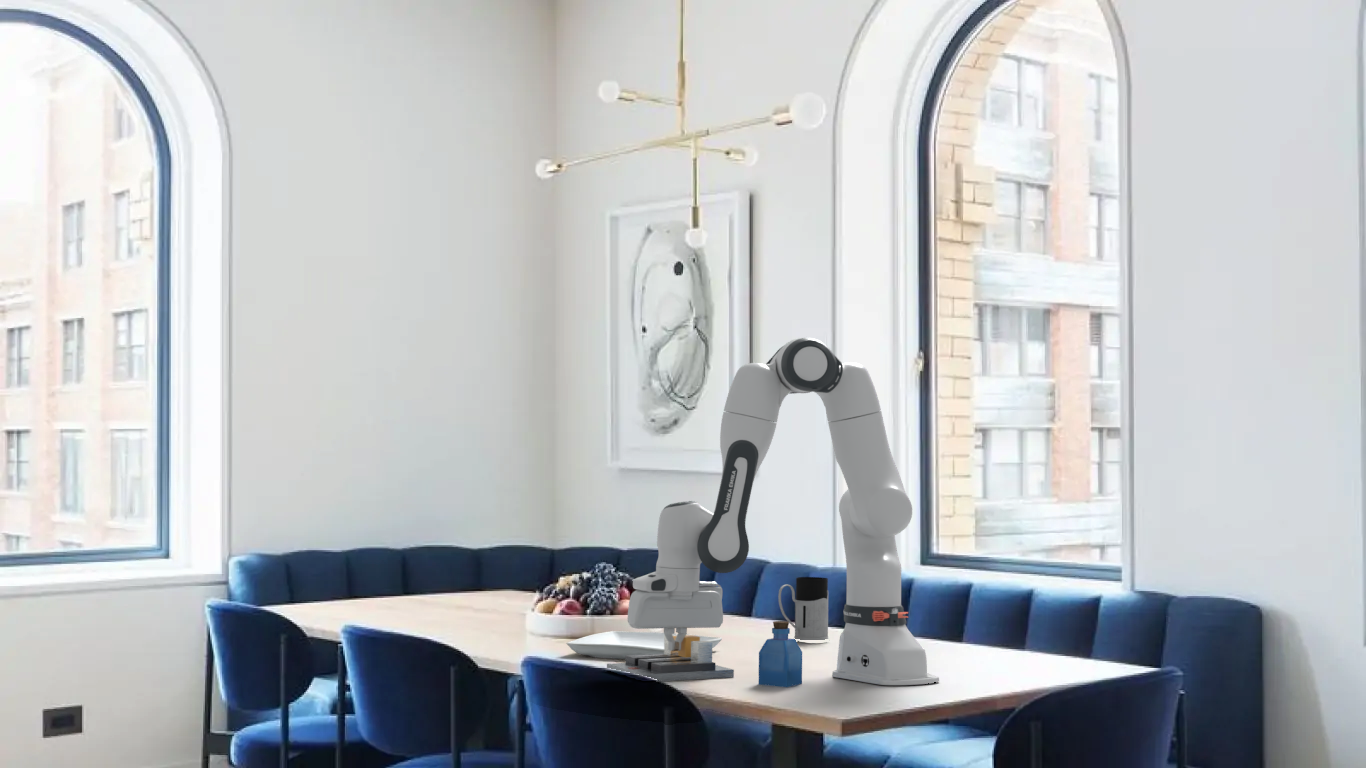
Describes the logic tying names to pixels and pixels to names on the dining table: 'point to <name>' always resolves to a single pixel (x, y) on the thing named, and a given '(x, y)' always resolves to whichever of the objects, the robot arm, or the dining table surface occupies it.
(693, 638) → the handle
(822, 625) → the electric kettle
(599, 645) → the square plate
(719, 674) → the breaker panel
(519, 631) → the dining table surface
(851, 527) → the robot arm
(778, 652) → the blue glass bottle
